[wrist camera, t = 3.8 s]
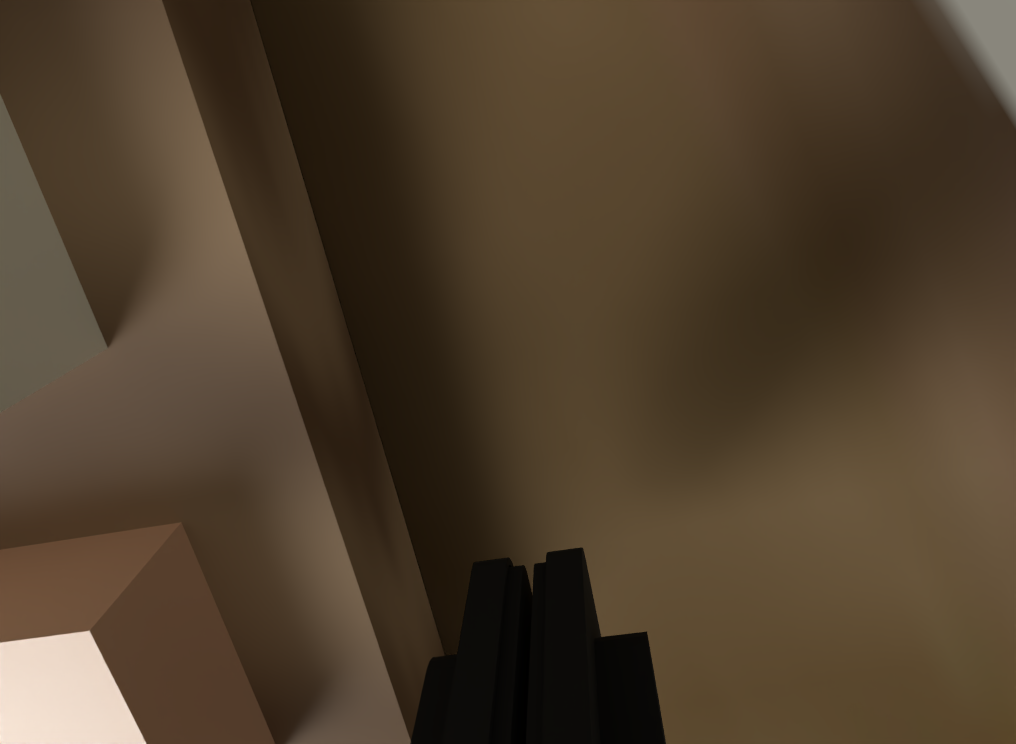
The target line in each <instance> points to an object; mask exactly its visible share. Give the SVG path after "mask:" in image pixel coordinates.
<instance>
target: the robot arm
mask: <svg viewBox="0 0 1016 744" xmlns="http://www.w3.org/2000/svg"><path fill="white" fill-rule="evenodd" d="M410 744H666V742H665V736H664V729H663V723H662V717H661V711H660V705H659V699H658V693H657V688H656V682H655V676H654V670H653V664H652V658H651V652H650V647H649V641H648V635H647V632H640V633H632V634H623V635H615V636H606V637H601V634H600V629H599V624H598V619H597V614H596V609H595V604H594V599H593V594H592V589H591V584H590V579H589V574H588V569H587V564H586V559H585V554H584V551H583V548H575V549H567V550H560V551H553V552H547V555H546V562H544V563H537V564H534V575H533V596H532V592H531V587H530V583H529V579H528V575H527V571H526V568H525V566H524V565H522V566H515V567H513V564H512V561H511V559H510V558H501V559H494V560H487V561H479V562H475V563H473V566H472V571H471V577H470V583H469V589H468V595H467V600H466V606H465V612H464V618H463V624H462V629H461V635H460V641H459V647H458V653H457V654H456V655H447V656H439V657H432V659H431V660H430V661H429V664H428V667H427V670H426V674H425V679H424V683H423V688H422V693H421V697H420V702H419V706H418V711H417V715H416V720H415V725H414V729H413V734H412V738H411V743H410Z"/></svg>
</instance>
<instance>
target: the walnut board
mask: <svg viewBox="0 0 1016 744" xmlns="http://www.w3.org/2000/svg"><path fill="white" fill-rule="evenodd" d="M0 95H1V97H2V99H3V102H4V104H5V106H6V109H7V111H8V113H9V116H10V118H11V121H12V123H13V125H14V128H15V130H16V132H17V135H18V137H19V139H20V142H21V144H22V147H23V149H24V151H25V154H26V156H27V158H28V161H29V163H30V165H31V168H32V170H33V173H34V175H35V177H36V180H37V182H38V184H39V187H40V189H41V191H42V194H43V196H44V199H45V201H46V203H47V206H48V208H49V210H50V213H51V215H52V217H53V220H54V222H55V225H56V227H57V229H58V232H59V234H60V236H61V239H62V241H63V243H64V246H65V248H66V251H67V253H68V255H69V258H70V260H71V262H72V265H73V267H74V269H75V272H76V274H77V277H78V279H79V281H80V284H81V286H82V288H83V291H84V293H85V295H86V298H87V300H88V303H89V305H90V307H91V310H92V312H93V314H94V317H95V319H96V321H97V324H98V326H99V329H100V331H101V333H102V336H103V338H104V340H105V343H106V345H107V347H108V348H107V349H106V350H104V351H102V352H101V353H99V354H97V355H96V356H94V357H92V358H91V359H89V360H87V361H86V362H84V363H82V364H81V365H79V366H77V367H76V368H74V369H72V370H71V371H69V372H67V373H66V374H64V375H62V376H61V377H59V378H57V379H56V380H54V381H52V382H51V383H49V384H47V385H46V386H44V387H42V388H41V389H39V390H37V391H36V392H34V393H32V394H31V395H29V396H27V397H26V398H24V399H22V400H21V401H19V402H17V403H16V404H14V405H12V406H11V407H9V408H7V409H6V410H4V411H2V412H1V413H0V550H2V549H8V548H15V547H22V546H28V545H35V544H41V543H48V542H54V541H61V540H68V539H74V538H81V537H87V536H94V535H101V534H107V533H114V532H120V531H127V530H134V529H140V528H147V527H153V526H160V525H167V524H173V523H180V522H182V525H183V527H184V529H185V532H186V534H187V536H188V539H189V541H190V544H191V546H192V548H193V551H194V553H195V555H196V558H197V560H198V562H199V565H200V567H201V570H202V572H203V574H204V577H205V579H206V581H207V584H208V586H209V588H210V591H211V593H212V596H213V598H214V600H215V603H216V605H217V607H218V610H219V612H220V614H221V617H222V619H223V622H224V624H225V626H226V629H227V631H228V633H229V636H230V638H231V640H232V643H233V645H234V648H235V650H236V652H237V655H238V657H239V659H240V662H241V664H242V666H243V669H244V671H245V674H246V676H247V678H248V681H249V683H250V685H251V688H252V690H253V692H254V695H255V697H256V700H257V702H258V704H259V707H260V709H261V711H262V714H263V716H264V718H265V721H266V723H267V726H268V728H269V730H270V733H271V735H272V737H273V740H274V742H275V744H410V743H411V738H412V734H413V729H414V725H415V720H416V715H417V711H418V706H419V702H420V697H421V693H422V688H423V683H424V679H425V674H426V670H427V667H428V664H429V661H430V660H431V659H432V657H439V656H445V654H444V651H443V647H442V644H441V641H440V637H439V634H438V631H437V627H436V624H435V620H434V617H433V614H432V610H431V607H430V604H429V600H428V597H427V594H426V590H425V587H424V584H423V580H422V577H421V573H420V570H419V567H418V563H417V560H416V557H415V553H414V550H413V547H412V543H411V540H410V536H409V533H408V530H407V526H406V523H405V520H404V516H403V513H402V510H401V506H400V503H399V500H398V496H397V493H396V489H395V486H394V483H393V479H392V476H391V473H390V469H389V466H388V463H387V459H386V456H385V452H384V449H383V446H382V442H381V439H380V436H379V432H378V429H377V426H376V422H375V419H374V415H373V412H372V409H371V405H370V402H369V399H368V395H367V392H366V389H365V385H364V382H363V379H362V375H361V372H360V368H359V365H358V362H357V358H356V355H355V352H354V348H353V345H352V342H351V338H350V335H349V331H348V328H347V325H346V321H345V318H344V315H343V311H342V308H341V305H340V301H339V298H338V295H337V291H336V288H335V284H334V281H333V278H332V274H331V271H330V268H329V264H328V261H327V258H326V254H325V251H324V247H323V244H322V241H321V237H320V234H319V231H318V227H317V224H316V221H315V217H314V214H313V211H312V207H311V204H310V200H309V197H308V194H307V190H306V187H305V184H304V180H303V177H302V174H301V170H300V167H299V163H298V160H297V157H296V153H295V150H294V147H293V143H292V140H291V137H290V133H289V130H288V127H287V123H286V120H285V116H284V113H283V110H282V106H281V103H280V100H279V96H278V93H277V90H276V86H275V83H274V79H273V76H272V73H271V69H270V66H269V63H268V59H267V56H266V53H265V49H264V46H263V42H262V39H261V36H260V32H259V29H258V26H257V22H256V19H255V16H254V12H253V9H252V6H251V2H250V0H0Z"/></svg>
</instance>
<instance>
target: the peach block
mask: <svg viewBox="0 0 1016 744" xmlns="http://www.w3.org/2000/svg"><path fill="white" fill-rule="evenodd" d="M0 744H275V742H274V740H273V737H272V735H271V733H270V730H269V728H268V726H267V723H266V721H265V718H264V716H263V714H262V711H261V709H260V707H259V704H258V702H257V700H256V697H255V695H254V692H253V690H252V688H251V685H250V683H249V681H248V678H247V676H246V674H245V671H244V669H243V666H242V664H241V662H240V659H239V657H238V655H237V652H236V650H235V648H234V645H233V643H232V640H231V638H230V636H229V633H228V631H227V629H226V626H225V624H224V622H223V619H222V617H221V614H220V612H219V610H218V607H217V605H216V603H215V600H214V598H213V596H212V593H211V591H210V588H209V586H208V584H207V581H206V579H205V577H204V574H203V572H202V570H201V567H200V565H199V562H198V560H197V558H196V555H195V553H194V551H193V548H192V546H191V544H190V541H189V539H188V536H187V534H186V532H185V529H184V527H183V525H182V522H180V523H173V524H167V525H160V526H153V527H147V528H140V529H134V530H127V531H120V532H114V533H107V534H101V535H94V536H87V537H81V538H74V539H68V540H61V541H54V542H48V543H41V544H35V545H28V546H22V547H15V548H8V549H2V550H0Z"/></svg>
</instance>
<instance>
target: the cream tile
mask: <svg viewBox="0 0 1016 744" xmlns="http://www.w3.org/2000/svg"><path fill="white" fill-rule="evenodd" d="M107 348H108V347H107V345H106V343H105V340H104V338H103V336H102V333H101V331H100V329H99V326H98V324H97V321H96V319H95V317H94V314H93V312H92V310H91V307H90V305H89V303H88V300H87V298H86V295H85V293H84V291H83V288H82V286H81V284H80V281H79V279H78V277H77V274H76V272H75V269H74V267H73V265H72V262H71V260H70V258H69V255H68V253H67V251H66V248H65V246H64V243H63V241H62V239H61V236H60V234H59V232H58V229H57V227H56V225H55V222H54V220H53V217H52V215H51V213H50V210H49V208H48V206H47V203H46V201H45V199H44V196H43V194H42V191H41V189H40V187H39V184H38V182H37V180H36V177H35V175H34V173H33V170H32V168H31V165H30V163H29V161H28V158H27V156H26V154H25V151H24V149H23V147H22V144H21V142H20V139H19V137H18V135H17V132H16V130H15V128H14V125H13V123H12V121H11V118H10V116H9V113H8V111H7V109H6V106H5V104H4V102H3V99H2V97H1V95H0V413H1V412H2V411H4V410H6V409H7V408H9V407H11V406H12V405H14V404H16V403H17V402H19V401H21V400H22V399H24V398H26V397H27V396H29V395H31V394H32V393H34V392H36V391H37V390H39V389H41V388H42V387H44V386H46V385H47V384H49V383H51V382H52V381H54V380H56V379H57V378H59V377H61V376H62V375H64V374H66V373H67V372H69V371H71V370H72V369H74V368H76V367H77V366H79V365H81V364H82V363H84V362H86V361H87V360H89V359H91V358H92V357H94V356H96V355H97V354H99V353H101V352H102V351H104V350H106V349H107Z"/></svg>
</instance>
